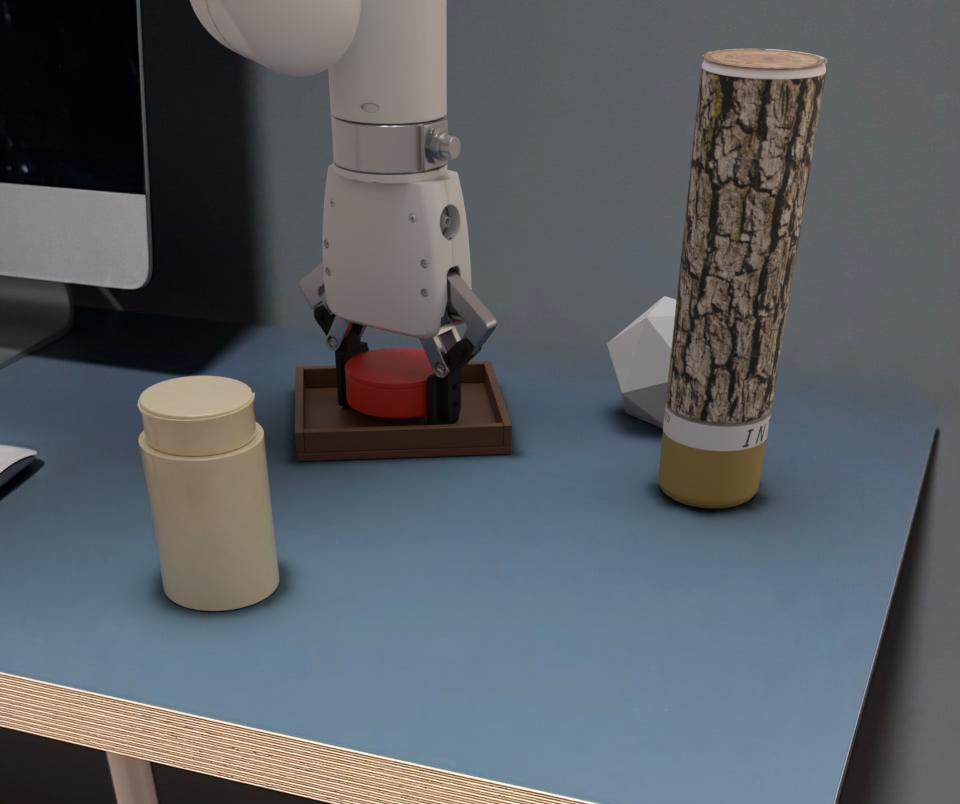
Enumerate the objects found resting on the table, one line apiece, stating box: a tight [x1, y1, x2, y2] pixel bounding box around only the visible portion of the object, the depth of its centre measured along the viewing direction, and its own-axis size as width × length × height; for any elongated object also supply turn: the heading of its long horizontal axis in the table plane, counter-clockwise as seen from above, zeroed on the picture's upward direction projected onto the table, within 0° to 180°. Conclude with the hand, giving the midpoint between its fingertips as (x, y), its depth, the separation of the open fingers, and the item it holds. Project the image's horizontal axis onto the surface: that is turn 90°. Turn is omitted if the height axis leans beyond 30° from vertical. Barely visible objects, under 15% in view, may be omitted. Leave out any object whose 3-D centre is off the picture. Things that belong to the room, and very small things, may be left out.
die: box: [606, 295, 677, 429], centre depth 92 cm, size 8×9×10 cm
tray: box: [294, 360, 513, 462], centre depth 93 cm, size 15×13×2 cm
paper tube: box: [657, 48, 828, 510], centre depth 77 cm, size 7×7×25 cm
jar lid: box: [345, 347, 434, 418], centre depth 92 cm, size 8×8×2 cm
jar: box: [136, 375, 281, 612], centre depth 71 cm, size 7×7×11 cm
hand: (398, 412), depth 93 cm, fingers closed on jar lid, 7 cm apart
